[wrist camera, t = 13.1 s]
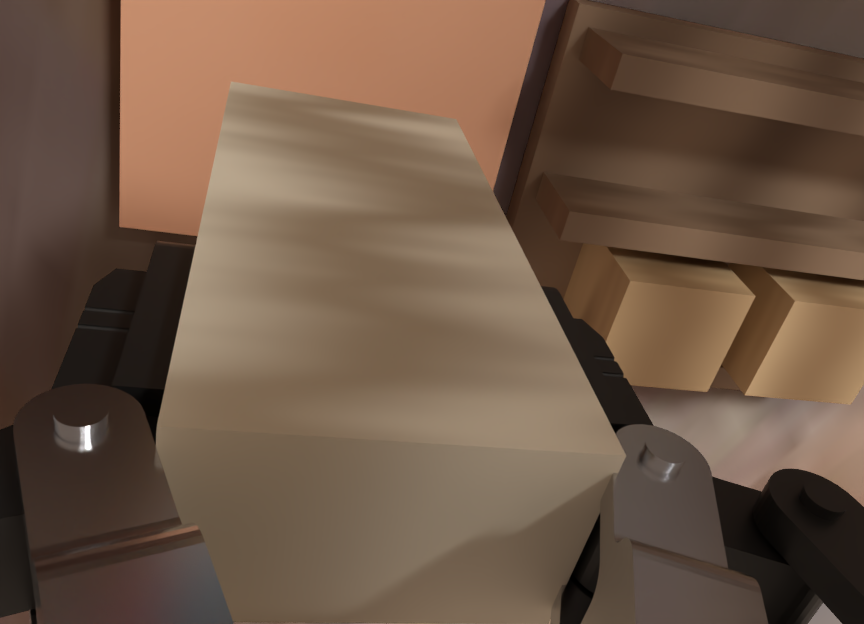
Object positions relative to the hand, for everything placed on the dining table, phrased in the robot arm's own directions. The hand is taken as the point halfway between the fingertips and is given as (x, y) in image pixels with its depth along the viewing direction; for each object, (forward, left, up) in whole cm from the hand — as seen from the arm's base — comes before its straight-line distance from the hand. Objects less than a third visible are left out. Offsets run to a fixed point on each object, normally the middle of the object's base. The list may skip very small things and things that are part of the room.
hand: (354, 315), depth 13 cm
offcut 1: (-12, +6, -13) cm, 19 cm away
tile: (0, 0, -14) cm, 14 cm away
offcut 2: (-18, +6, -13) cm, 23 cm away
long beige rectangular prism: (0, 0, -6) cm, 6 cm away
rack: (-15, +3, -14) cm, 21 cm away
